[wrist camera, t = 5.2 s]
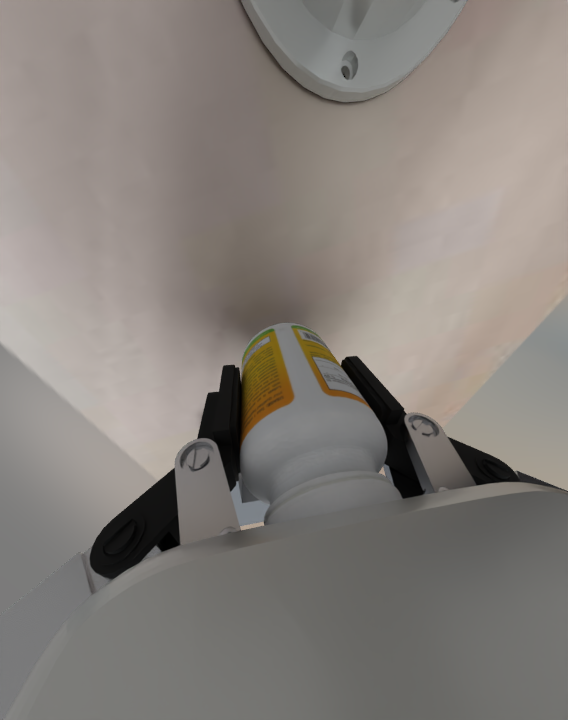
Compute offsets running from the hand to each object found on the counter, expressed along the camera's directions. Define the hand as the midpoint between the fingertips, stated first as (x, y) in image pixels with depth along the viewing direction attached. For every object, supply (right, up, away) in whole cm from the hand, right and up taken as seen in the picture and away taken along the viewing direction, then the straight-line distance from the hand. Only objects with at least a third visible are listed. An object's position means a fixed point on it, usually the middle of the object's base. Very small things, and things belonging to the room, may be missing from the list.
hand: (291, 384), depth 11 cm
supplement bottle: (0, +1, +2) cm, 3 cm away
